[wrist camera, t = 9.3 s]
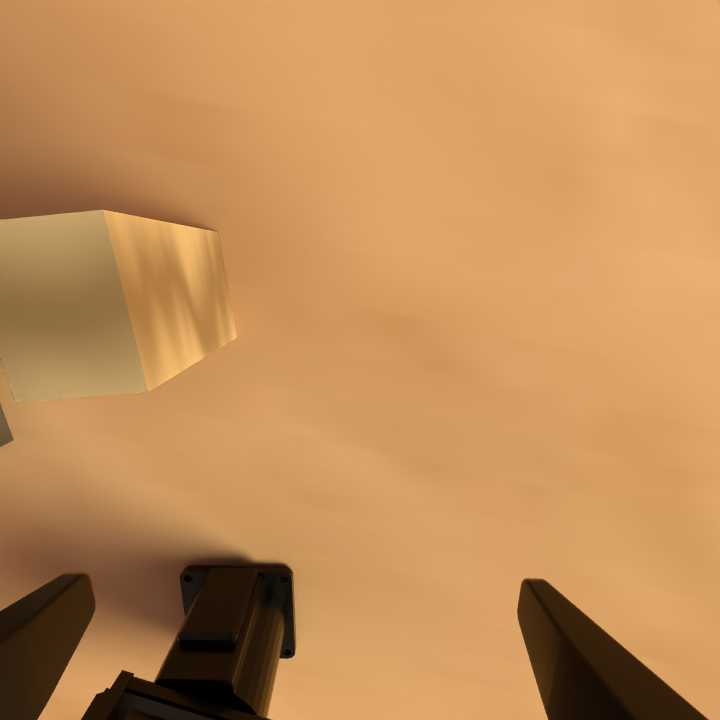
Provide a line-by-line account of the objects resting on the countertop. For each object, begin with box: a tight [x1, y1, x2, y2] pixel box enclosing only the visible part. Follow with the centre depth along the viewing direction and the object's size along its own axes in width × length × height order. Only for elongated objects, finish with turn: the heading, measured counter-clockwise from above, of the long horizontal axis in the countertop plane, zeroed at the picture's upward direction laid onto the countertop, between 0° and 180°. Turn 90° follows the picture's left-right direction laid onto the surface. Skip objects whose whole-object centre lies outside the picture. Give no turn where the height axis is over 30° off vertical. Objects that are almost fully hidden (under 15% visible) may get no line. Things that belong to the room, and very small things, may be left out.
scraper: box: [0, 210, 237, 447], centre depth 14 cm, size 14×15×8 cm
